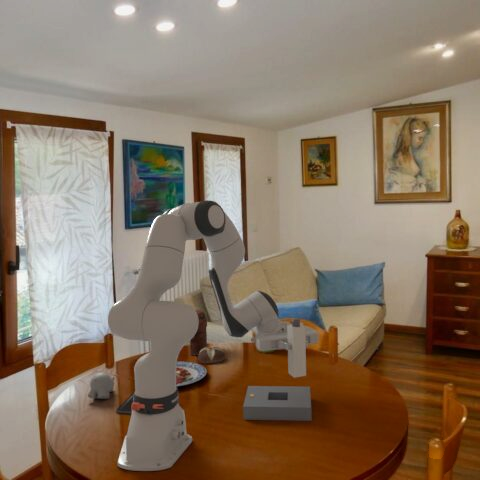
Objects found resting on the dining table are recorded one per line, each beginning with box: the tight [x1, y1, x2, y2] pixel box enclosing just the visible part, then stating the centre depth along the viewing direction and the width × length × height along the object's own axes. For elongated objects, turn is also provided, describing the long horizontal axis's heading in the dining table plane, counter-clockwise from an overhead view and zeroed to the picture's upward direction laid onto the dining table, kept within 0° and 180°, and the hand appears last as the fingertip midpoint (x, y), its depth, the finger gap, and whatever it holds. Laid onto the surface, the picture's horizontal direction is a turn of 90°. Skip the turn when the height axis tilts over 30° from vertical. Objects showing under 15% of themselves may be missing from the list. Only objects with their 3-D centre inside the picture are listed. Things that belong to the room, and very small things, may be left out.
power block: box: [242, 385, 313, 422], centre depth 156 cm, size 16×20×4 cm
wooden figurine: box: [189, 309, 208, 356], centre depth 215 cm, size 12×6×18 cm, turn 170°
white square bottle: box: [287, 317, 307, 379], centre depth 151 cm, size 4×4×17 cm
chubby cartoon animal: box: [87, 372, 115, 400], centre depth 170 cm, size 7×12×8 cm, turn 165°
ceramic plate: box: [176, 361, 207, 388], centre depth 185 cm, size 26×26×3 cm
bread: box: [197, 346, 226, 365], centre depth 205 cm, size 11×11×5 cm
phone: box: [116, 392, 134, 415], centre depth 163 cm, size 8×1×15 cm
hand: (297, 346), depth 150 cm, fingers closed on white square bottle, 4 cm apart
